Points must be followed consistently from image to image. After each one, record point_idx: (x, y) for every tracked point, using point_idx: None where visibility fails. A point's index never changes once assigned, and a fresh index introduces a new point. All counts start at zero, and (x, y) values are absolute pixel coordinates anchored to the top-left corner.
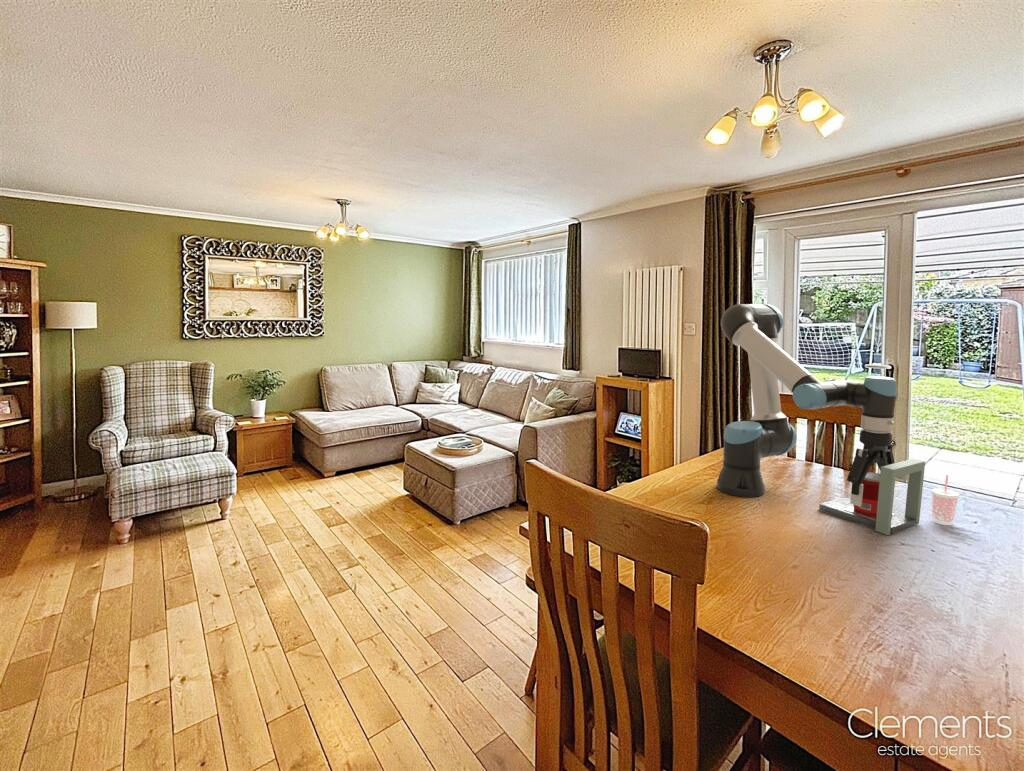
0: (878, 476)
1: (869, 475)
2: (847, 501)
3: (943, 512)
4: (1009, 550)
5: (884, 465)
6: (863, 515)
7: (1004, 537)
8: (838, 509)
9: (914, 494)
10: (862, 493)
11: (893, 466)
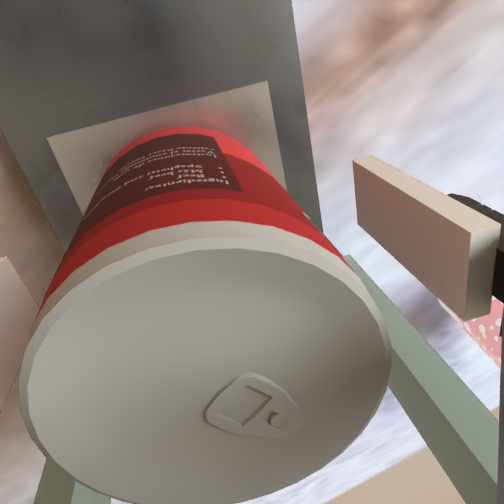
0: (313, 375)
1: (238, 340)
2: None
3: (473, 337)
4: (390, 458)
5: (501, 474)
6: None
7: (484, 398)
8: (6, 117)
9: (406, 397)
10: (6, 391)
11: None
